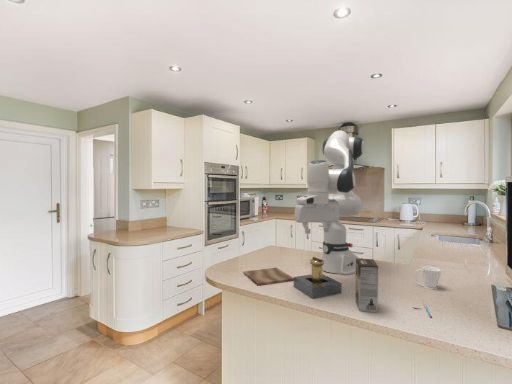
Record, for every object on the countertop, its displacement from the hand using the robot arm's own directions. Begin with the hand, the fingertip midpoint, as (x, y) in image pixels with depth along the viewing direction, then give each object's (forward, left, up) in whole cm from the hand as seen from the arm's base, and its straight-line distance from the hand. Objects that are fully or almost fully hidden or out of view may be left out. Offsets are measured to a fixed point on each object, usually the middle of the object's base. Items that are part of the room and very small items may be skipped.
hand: (317, 232), depth 115 cm
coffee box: (-7, +20, -24) cm, 32 cm away
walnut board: (+12, -22, -24) cm, 34 cm away
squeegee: (-24, +28, -24) cm, 44 cm away
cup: (-46, +15, -24) cm, 54 cm away
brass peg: (0, 0, -24) cm, 24 cm away
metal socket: (0, 0, -24) cm, 24 cm away
